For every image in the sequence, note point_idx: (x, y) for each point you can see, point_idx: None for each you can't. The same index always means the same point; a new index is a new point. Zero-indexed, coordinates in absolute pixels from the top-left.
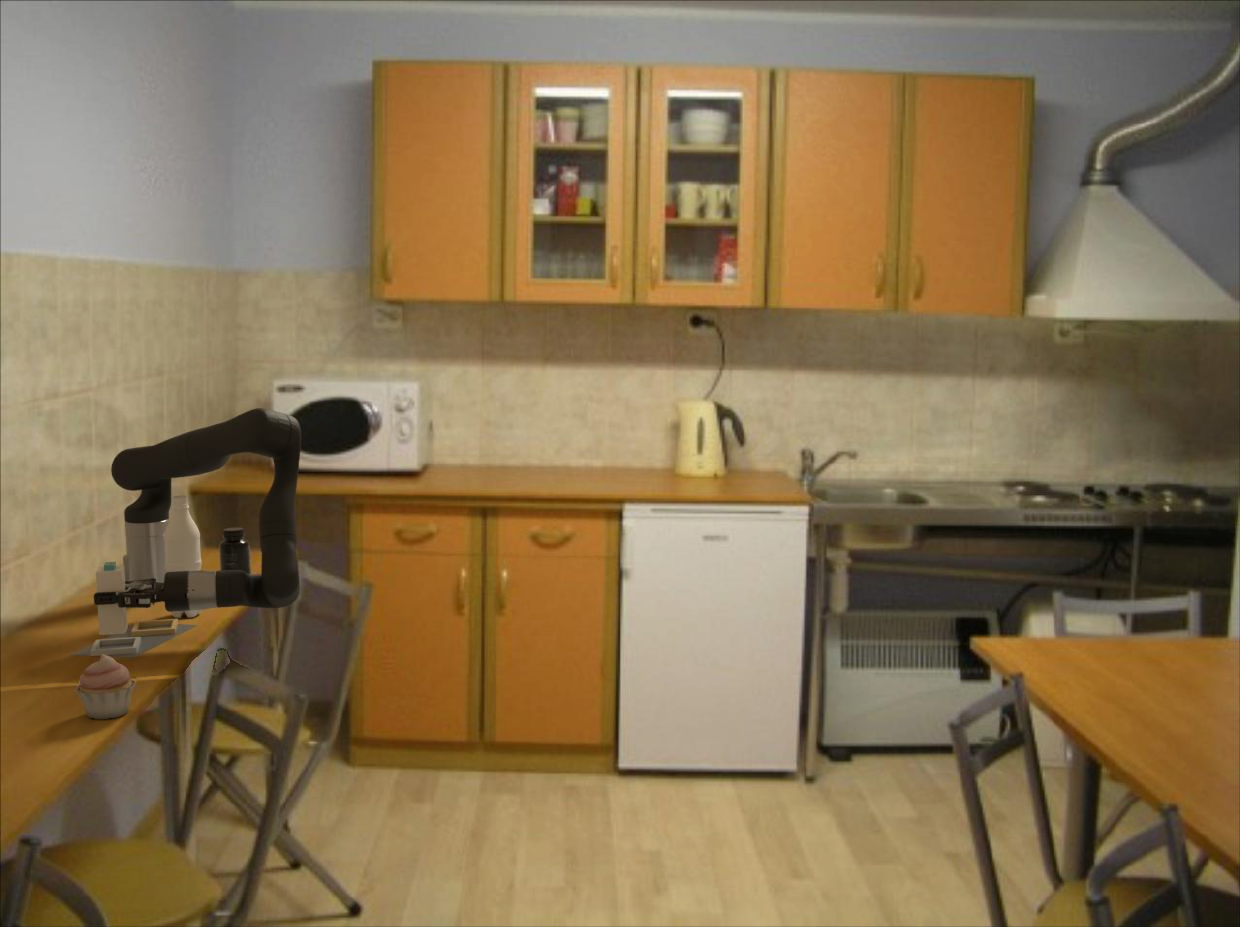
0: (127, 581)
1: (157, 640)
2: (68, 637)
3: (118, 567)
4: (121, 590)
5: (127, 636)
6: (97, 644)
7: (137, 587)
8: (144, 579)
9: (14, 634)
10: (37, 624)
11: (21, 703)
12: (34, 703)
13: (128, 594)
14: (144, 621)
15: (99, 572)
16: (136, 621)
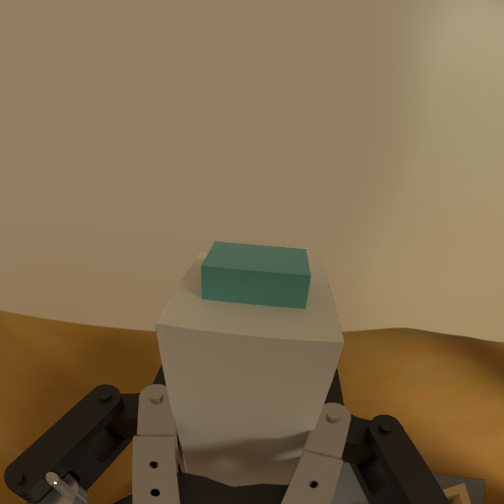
0: (382, 428)
1: None
2: (393, 392)
3: (282, 317)
4: (173, 409)
5: (367, 501)
6: None
7: (137, 473)
8: (442, 492)
9: (406, 329)
10: (457, 342)
11: (19, 322)
12: (7, 329)
13: (71, 417)
14: (465, 501)
15: (194, 262)
16: (464, 484)
